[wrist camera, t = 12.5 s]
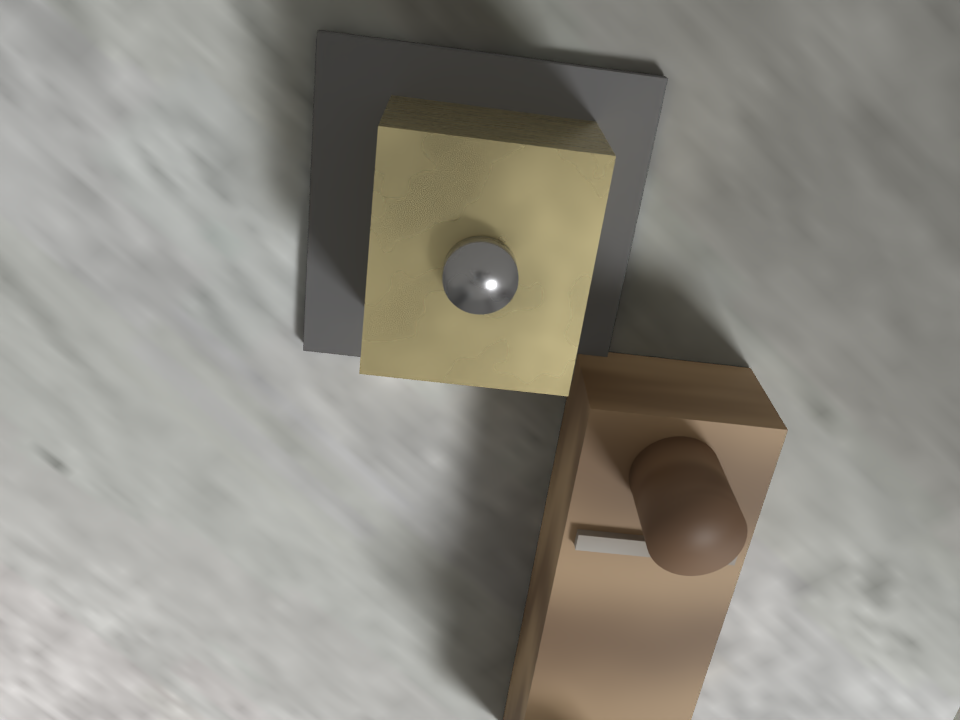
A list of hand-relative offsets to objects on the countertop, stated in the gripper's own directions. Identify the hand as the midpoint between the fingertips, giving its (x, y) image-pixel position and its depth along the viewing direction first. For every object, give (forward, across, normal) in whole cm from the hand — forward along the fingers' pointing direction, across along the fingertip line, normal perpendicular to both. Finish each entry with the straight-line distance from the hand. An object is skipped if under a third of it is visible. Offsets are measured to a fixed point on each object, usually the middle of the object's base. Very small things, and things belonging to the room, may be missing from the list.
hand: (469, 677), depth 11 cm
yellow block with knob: (+18, 0, 0) cm, 18 cm away
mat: (+18, 0, 0) cm, 18 cm away
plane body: (+18, +7, -13) cm, 24 cm away
